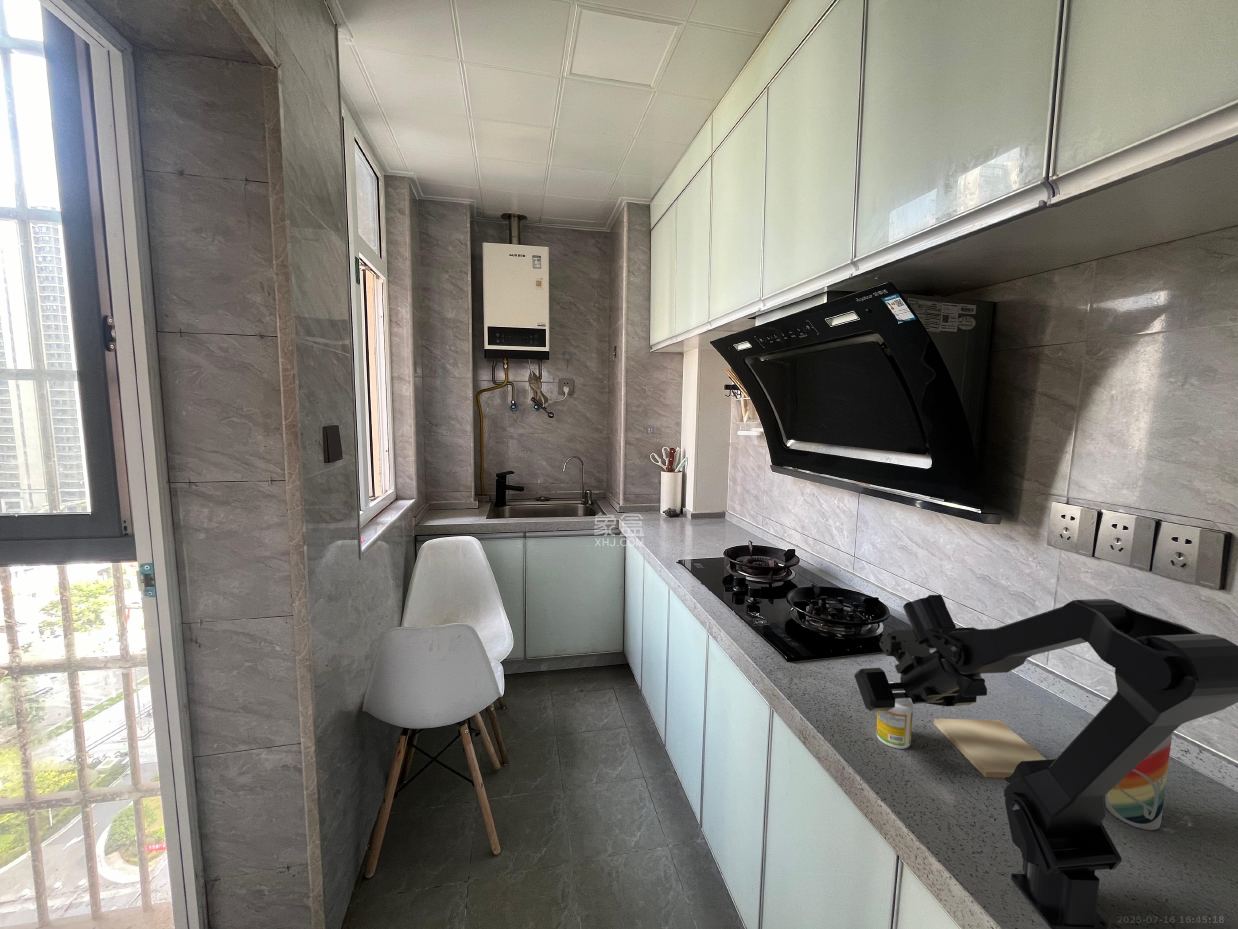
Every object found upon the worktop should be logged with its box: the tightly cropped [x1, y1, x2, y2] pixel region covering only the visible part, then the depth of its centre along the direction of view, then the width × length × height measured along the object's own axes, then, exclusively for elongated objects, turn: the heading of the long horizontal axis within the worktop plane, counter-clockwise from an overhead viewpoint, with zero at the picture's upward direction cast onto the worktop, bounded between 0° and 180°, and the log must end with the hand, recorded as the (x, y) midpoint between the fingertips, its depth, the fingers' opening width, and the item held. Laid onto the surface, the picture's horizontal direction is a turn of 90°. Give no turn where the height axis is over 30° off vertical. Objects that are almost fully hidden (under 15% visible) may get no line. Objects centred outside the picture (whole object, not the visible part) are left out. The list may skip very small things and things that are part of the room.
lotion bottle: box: [1104, 733, 1173, 831], centre depth 72 cm, size 6×6×20 cm
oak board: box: [933, 718, 1046, 779], centre depth 87 cm, size 14×12×1 cm
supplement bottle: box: [875, 681, 914, 750], centre depth 89 cm, size 5×5×10 cm
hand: (890, 700), depth 90 cm, fingers open, 9 cm apart
